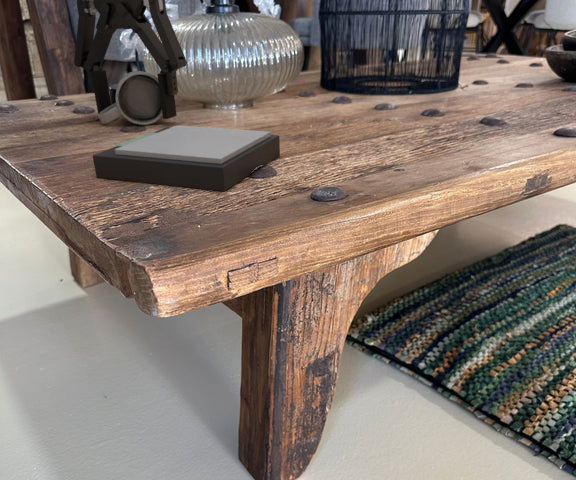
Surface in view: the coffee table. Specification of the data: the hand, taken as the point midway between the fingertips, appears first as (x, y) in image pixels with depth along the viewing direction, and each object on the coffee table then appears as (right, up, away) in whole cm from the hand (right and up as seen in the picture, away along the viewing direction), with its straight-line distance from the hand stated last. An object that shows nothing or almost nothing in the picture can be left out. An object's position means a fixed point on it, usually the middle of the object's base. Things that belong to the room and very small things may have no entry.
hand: (137, 115), depth 90 cm
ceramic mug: (0, -1, +1) cm, 1 cm away
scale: (+13, -13, -23) cm, 29 cm away
